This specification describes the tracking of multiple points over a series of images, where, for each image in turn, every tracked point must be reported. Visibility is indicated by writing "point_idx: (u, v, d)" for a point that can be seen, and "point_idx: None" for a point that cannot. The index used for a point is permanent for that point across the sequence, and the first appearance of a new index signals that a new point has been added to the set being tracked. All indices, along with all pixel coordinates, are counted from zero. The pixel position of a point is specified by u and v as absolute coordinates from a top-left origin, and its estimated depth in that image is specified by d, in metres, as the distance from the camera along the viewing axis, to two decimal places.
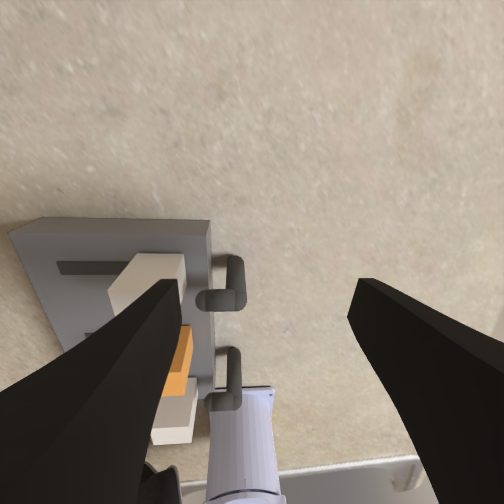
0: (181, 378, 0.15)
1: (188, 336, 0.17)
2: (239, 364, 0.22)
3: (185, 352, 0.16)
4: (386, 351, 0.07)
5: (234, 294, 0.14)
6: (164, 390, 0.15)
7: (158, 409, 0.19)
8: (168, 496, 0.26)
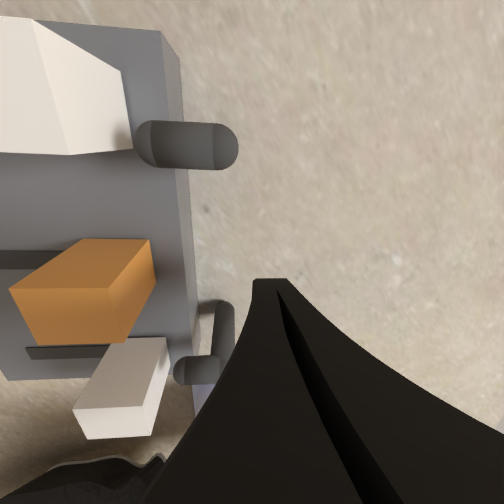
0: (112, 304, 0.08)
1: (140, 249, 0.10)
2: (231, 321, 0.15)
3: (128, 267, 0.09)
4: None
5: (212, 124, 0.07)
6: (83, 330, 0.08)
7: (96, 380, 0.11)
8: None
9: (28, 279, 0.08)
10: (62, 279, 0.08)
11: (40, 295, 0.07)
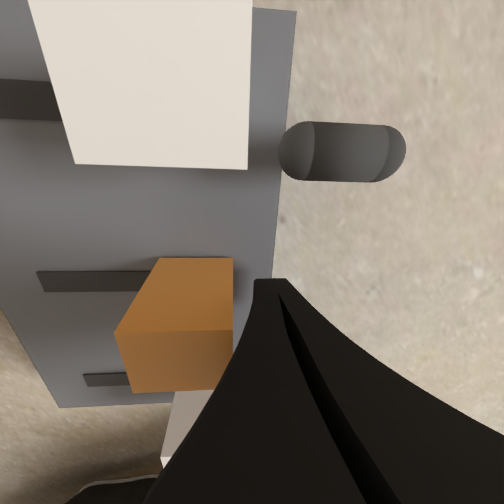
0: (231, 347, 0.06)
1: (232, 272, 0.09)
2: None
3: (232, 296, 0.07)
4: None
5: (382, 127, 0.06)
6: (190, 377, 0.07)
7: (176, 417, 0.10)
8: None
9: (130, 318, 0.06)
10: (171, 317, 0.06)
11: (149, 339, 0.06)
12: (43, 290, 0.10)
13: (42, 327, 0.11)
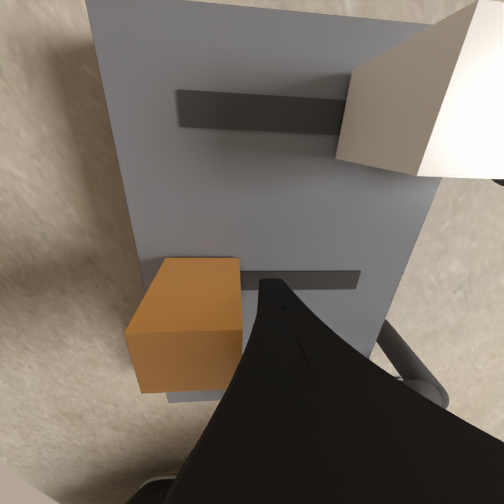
0: (240, 347, 0.06)
1: (238, 272, 0.09)
2: (402, 339, 0.14)
3: None
4: None
5: None
6: (198, 377, 0.07)
7: None
8: None
9: (140, 318, 0.06)
10: (180, 317, 0.06)
11: (159, 339, 0.06)
12: None
13: None
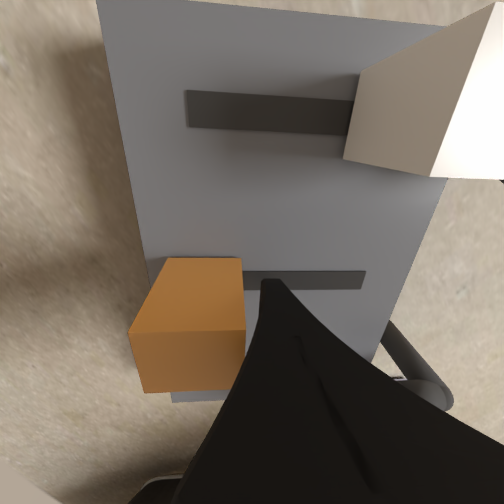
0: (243, 347, 0.06)
1: (241, 272, 0.09)
2: (406, 339, 0.14)
3: None
4: None
5: None
6: (201, 377, 0.07)
7: None
8: None
9: (143, 318, 0.06)
10: (184, 317, 0.06)
11: (163, 339, 0.06)
12: None
13: None
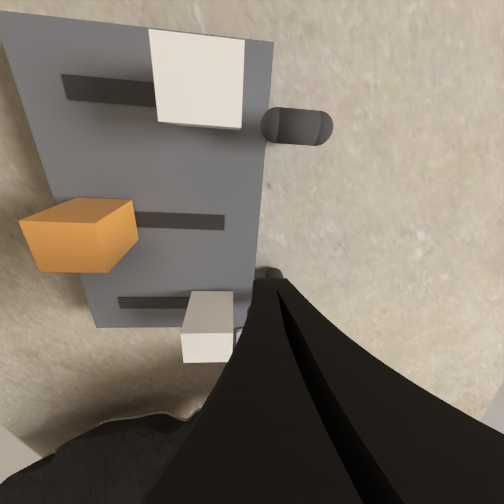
0: (98, 238, 0.10)
1: (123, 205, 0.12)
2: None
3: (112, 215, 0.11)
4: None
5: (318, 111, 0.10)
6: (75, 260, 0.10)
7: (190, 316, 0.14)
8: None
9: (33, 217, 0.10)
10: (59, 218, 0.10)
11: (42, 227, 0.10)
12: None
13: None
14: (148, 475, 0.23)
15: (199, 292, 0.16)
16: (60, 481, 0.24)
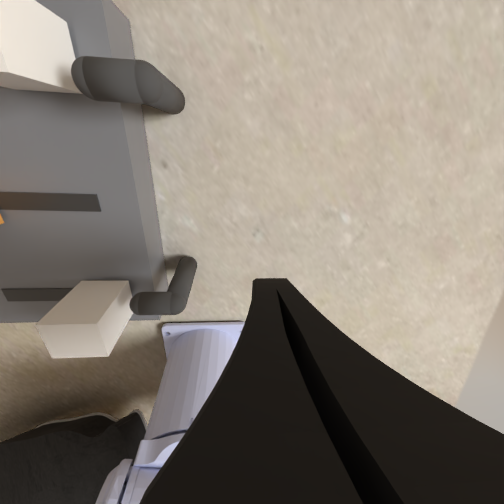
0: None
1: None
2: (191, 269, 0.17)
3: None
4: None
5: (135, 60, 0.08)
6: None
7: (59, 307, 0.13)
8: (133, 441, 0.22)
9: None
10: None
11: None
12: None
13: None
14: (72, 481, 0.21)
15: (88, 282, 0.15)
16: None
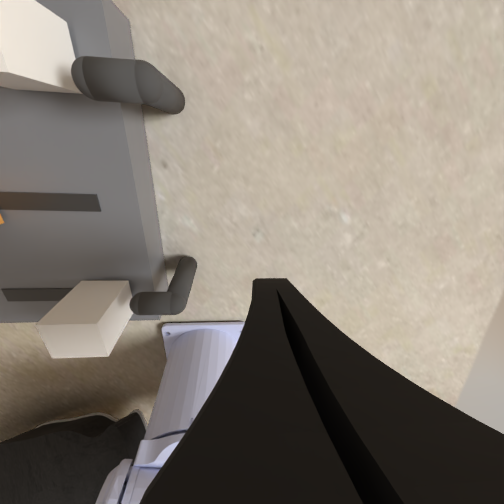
0: None
1: None
2: (191, 269, 0.17)
3: None
4: None
5: (135, 60, 0.08)
6: None
7: (59, 307, 0.13)
8: (133, 441, 0.22)
9: None
10: None
11: None
12: None
13: None
14: (72, 481, 0.21)
15: (88, 282, 0.15)
16: None
